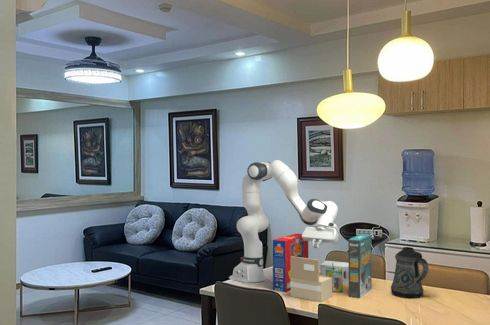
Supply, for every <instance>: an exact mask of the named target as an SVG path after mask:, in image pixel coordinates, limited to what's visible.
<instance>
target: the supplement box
mask: <svg viewBox="0 0 490 325" xmlns="http://www.w3.org/2000/svg"><path fill="white" fill-rule="evenodd" d="M332 263H333V266H334V268H342V279H343V282H344V283H349V262H343V261H334V260H325V261H323V262H322V263H319V275H321V276H326V268H333V266H332Z"/></svg>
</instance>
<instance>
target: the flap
mask: <svg viewBox="0 0 490 325" xmlns="http://www.w3.org/2000/svg"><path fill="white" fill-rule="evenodd" d="M319 275H320V260H319V259H315V258H309V257H308V258H301V257H294V256H291V278H296V279H302V280H309V281H315V282H319Z"/></svg>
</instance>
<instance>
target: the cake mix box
mask: <svg viewBox="0 0 490 325" xmlns="http://www.w3.org/2000/svg"><path fill="white" fill-rule="evenodd" d="M347 241H348V263H349V281H348V297H349V298H354V299H361V298H363V297H364V296H365V295H366V294H367V293H369V291H372V284H373V283H372V282H373V281H372V276H373V275H372V234H366V233H365V234H363V233H360V234H357V235H356V236H354V237H351V238H349V239H348V240H347Z"/></svg>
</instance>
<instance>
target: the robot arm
mask: <svg viewBox="0 0 490 325" xmlns="http://www.w3.org/2000/svg"><path fill="white" fill-rule="evenodd" d="M246 172H247V173H246V174H245V175H243V177H242V182H241V198H242V206H243V208H245V210H246V212H247V215H246V216H243V217H241V218H240V219H238V220H237V221H236V230H237V232H238V233H239V234H240V235H241V238H242V241H243V250H244V252H243V253H244V255H242V257H240V260H241V262H240V263H238V265H236V266H235V267H234V268H233V271H232V275H230V276H228V279H230V280H234V281H237V282H240V283H244V284H245V283H260V282H265V281H266V278H265V277H266V276H265V273H264V256H263V243H262V241H261V240H260V238H259V233H261V232H263V231H266V229H268V227H269V225H270V220H269V218H268V216H267V215H266V214H265V212H264V209H263V207H262V198H261V183H262V182H265V181H268V180H270V179H273V180H274V181H275V182H276V183H277V184H278V185H279V187H280V188H281V190H282V191H283V193H284V195H285V196H286V198H287V199H288V200H289V202H290V203H291V205H292V206H293V208H294V209H295V211H297V213H298V215H299V217H300V220H301V221H302V223H304V224H305V225H306V227H305V229H304V230H303V232H302V233H301V234H302V238H303V240H304V241H308V242H312V248H313V249H320V248H319V247H320V246H321V245H323V243H324V244H337V243H338V240H339V234H340V229H339V227H338V226H337V224H336V223H334V222H335V221H336V219H337V215H338V212H339V208H338V205H337V204H336V203H335V202H334V201H332V200H328V201H323V200H320V199H318V198H311V199H309V200H308V201H307V202H306V203H305V202H304V201H303V199H302V198H301V197H300V195H299V191H298V177H297V175H296V173H294V171H293V170H292V169H291V168H290V167H289V166H288V165H287V164H286V163H285V162H283V161H281V160H280V159H274V160H272V161H271V162H270V161H257V162H255V161H254V162H252V163H251V164H249V166H248V167H247V171H246Z"/></svg>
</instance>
